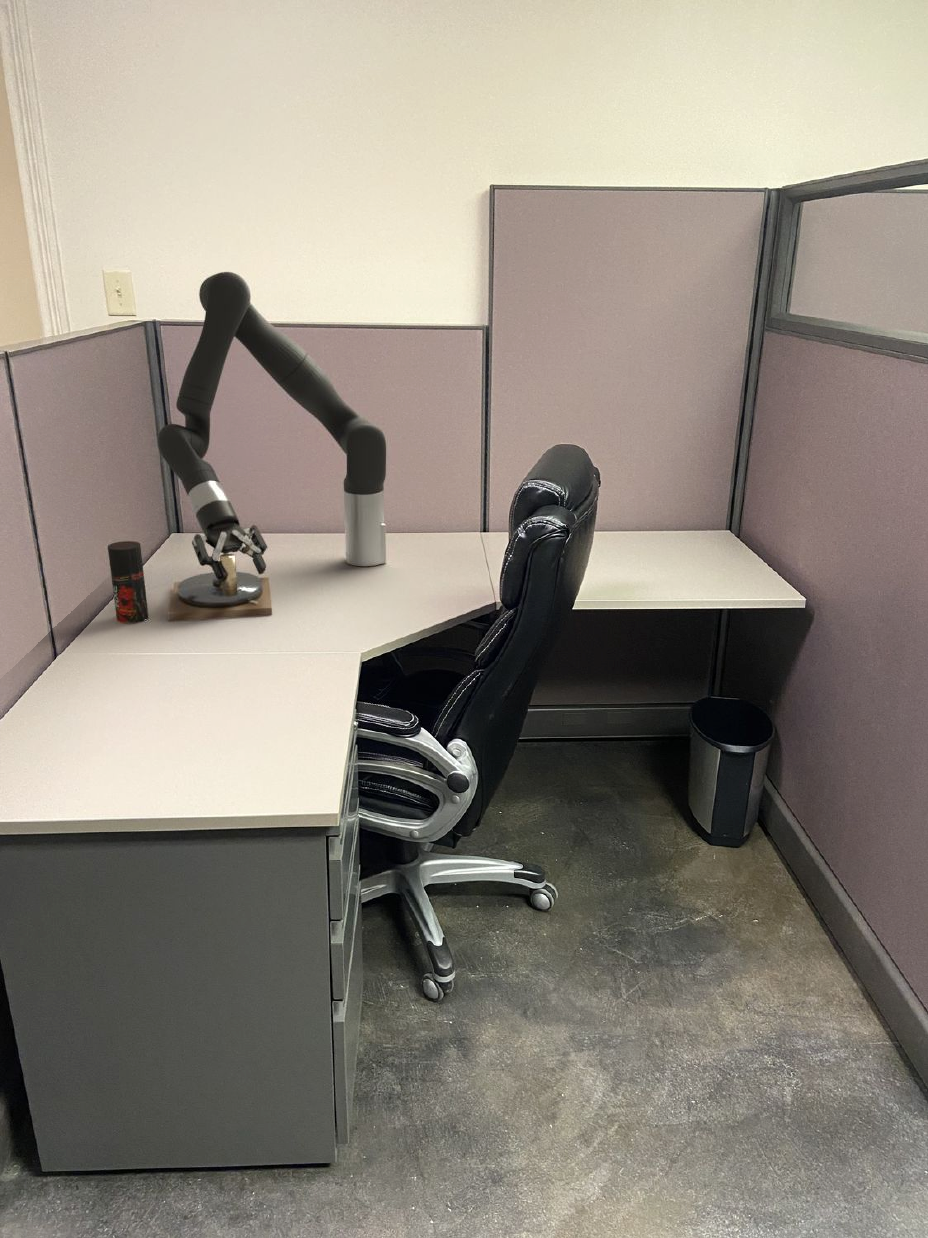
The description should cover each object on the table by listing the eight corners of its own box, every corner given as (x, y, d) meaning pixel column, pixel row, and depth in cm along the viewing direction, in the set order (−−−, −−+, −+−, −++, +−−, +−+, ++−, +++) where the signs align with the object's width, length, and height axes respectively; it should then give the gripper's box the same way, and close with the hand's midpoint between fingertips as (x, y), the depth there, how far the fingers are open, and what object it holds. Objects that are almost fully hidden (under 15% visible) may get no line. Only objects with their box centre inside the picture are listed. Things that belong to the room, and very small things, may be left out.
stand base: (269, 583, 203) (268, 575, 202) (272, 614, 184) (271, 606, 184) (175, 588, 198) (174, 580, 198) (168, 621, 180) (167, 612, 180)
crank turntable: (276, 584, 197) (273, 539, 193) (238, 610, 181) (235, 562, 178) (205, 577, 200) (201, 533, 197) (162, 602, 185) (157, 554, 182)
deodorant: (155, 616, 183) (147, 543, 177) (133, 625, 178) (124, 551, 172) (132, 611, 185) (123, 539, 180) (110, 620, 180) (100, 547, 175)
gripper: (185, 503, 180) (216, 572, 176) (249, 494, 189) (281, 560, 185) (175, 523, 186) (205, 591, 182) (238, 514, 195) (269, 578, 191)
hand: (243, 575), depth 184 cm, fingers open, 8 cm apart
